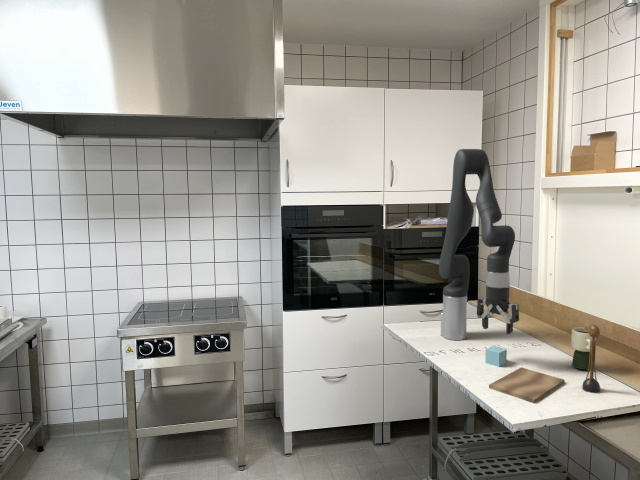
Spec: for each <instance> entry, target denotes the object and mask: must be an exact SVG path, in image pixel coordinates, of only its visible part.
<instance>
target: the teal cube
mask: <svg viewBox="0 0 640 480" xmlns="http://www.w3.org/2000/svg"><path fill="white" fill-rule="evenodd" d="M507 349H508V348H502V347H499V346H495V345H492V346H490V347H487V348H486V349H485V364H487V365H490V366H494V367H498V368H500V367H503V366H504V365H505V364H507V359H508V358H507V356H508V355H507V353H508V352H507V351H508V350H507Z"/></svg>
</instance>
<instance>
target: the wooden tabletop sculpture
mask: <svg viewBox="0 0 640 480" xmlns="http://www.w3.org/2000/svg"><path fill="white" fill-rule="evenodd" d="M583 328H584V329H585V330H587V331H588V334H589V335H590V336H591V337H592V340H590V358H589V367H588V369H587V374H586V377H585V379H584V380H583V382H582V386H581V387H582V388H581V389H582V391H585V392H587V393H592V394H593V393H594V394H598V393H600V392H601V385H600V382H599V381H598V378H597V373H596V370H597V369H596V351H597V349H596V347H597V340H595V338H596V339H597V338H598V337H599V336H600V334H601V330H600V328H599V327H598V326H597V325H596V324H594V323H593V324H592V323H591V324H589V325H588V326H584V327H583ZM591 345H592V349H591ZM590 362H591V368H590ZM589 369H590V370H589Z"/></svg>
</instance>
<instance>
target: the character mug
mask: <svg viewBox="0 0 640 480" xmlns="http://www.w3.org/2000/svg"><path fill="white" fill-rule="evenodd" d="M596 339H597V338H595V340H596ZM590 340H592V337H591V336H590V335H589V334H588V331H587V330H585V329H584V327H583V326H582V327H581V326H579V327H578V326H577V327H572V328H571V339H570V342H571V343H570V346H571V349H572V350H574V351H573V355H572V361H571V366H572V367H573V368H575V369H580V370H584V371H585V370H588V367H589V358H590ZM596 341H597V340H596ZM591 349H592V345H591ZM590 368H591V362H590ZM589 371H590V369H589Z"/></svg>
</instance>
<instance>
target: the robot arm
mask: <svg viewBox="0 0 640 480" xmlns="http://www.w3.org/2000/svg"><path fill="white" fill-rule="evenodd" d="M467 175H472V176H473V175H477V177H478V179H479V187H478V190H477V193H476V197H475V205H476V209H477V212H478V215H479V218H480V227H481V228H480V229H481V232H480V234H481V242H482V243H483V244H484V246H486V247H489V248H496V247H498V249H497V251H495V252H493V253H489V254H488V255H487V257H486V275H485V276H486V277H485V297H486V299H485V298H484V297H480V298H477V302H476V303H477V304H476V316H478V317H480V318H481V327H482V329H483V330H487V329H489V316H490V315H491V314H493V315H499V316H500V315H501V317H502V318H503V319H504V320H505V321H506V323H505V324H506V325H505V326H506V327H505V328H506V331H505V334H506V335H511V334H512V333H513V331H514V324H515V323H518V322H520V311H519V309H520V307H519V303H515V304H514V303H510V289H511V288H510V284H511V282H510V281H511V279H510V257H511V255H512V252H513V251H512V250H513V247H514V246H515V245H514V244H515V242H516V241H515V240H516V233H515V230H514V228H513V227H512V226H510V225H507V224H506V225H505V224H504V225H494V224H495V223H498V222H500V221H501V219H502V217H503V215H502V209H501V208H500V206H499V205H500V204H499V202H498V199H497V197H496V196H497V195H496V194H495V189H494V183H493V177H492V172H491V166H490V161H489V157H488V155H487V152H486V151H485V150H484V149H480V148H461V149H458V150H457V151H456V153H455V155H454V160H453V168H452V186H451V193H450V201H449V207H448V212H447V213H448V214H447V222H446V228H445V236H444V242H443V244H442V245H443V246H442V249H441V253H440V258H439V263H438V272H439V275H440V277H441V278H442V279H444V280H453V281H452V282H450V283H449V284H448V285H446V286H444V287H443V290H442V312H441V313H440V336H441V337H443V338H445V339H447V340H452V341H461V340H465V339H467V334H468V333H467V326H468V324H467V323H468V322H467V321H468V316H467V315H468V290H469V287H470V285H469V284H470V271H471V269H470V268H471V266H470V261H469V258H468V256H466V255H464V254H456V251H457V250H458V249H457V248H458V247H459V245H460V243H461V242H462V240H464V238H465V237H466V236H467V234H468V233H469V231H471V228H472V225H473V219H474V214H475V207H474V205H473V202H472V199H471V197H470V196H469V193H468V191H467V189H466V177H467ZM485 306H486V309H485V310H484V308H485ZM510 310H511V312H510Z"/></svg>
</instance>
